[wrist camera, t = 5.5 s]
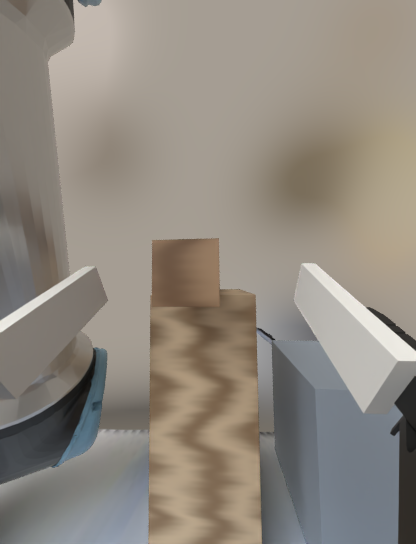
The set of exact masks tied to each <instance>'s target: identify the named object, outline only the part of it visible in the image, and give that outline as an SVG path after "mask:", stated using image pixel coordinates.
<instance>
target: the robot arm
mask: <svg viewBox="0 0 416 544" xmlns="http://www.w3.org/2000/svg"><path fill="white" fill-rule="evenodd" d="M78 2H79V3H81V4H82V5H83V6H85V7H87V6H88V5H93V6H97V5H99V4H100V3H101V0H78ZM74 32H75V28H74V10H73V0H0V485H1V484H4V483H6V482H9V481H12V480H15V479H18V478H20V477H23V476H26V475H29V474H32V473H34V472H37V471H40V470H43V469H46V468H48V467H52V468H54V467H57V466H59V465H61V464H62V463H63V462H64V461H66V460H69V459H71V458H74V457H76V456H79V455H81V454H83V453H84V452H86V451H87V450H88V449H89V448H90V447H91V446H92V445H93V443H94V441H95V439H96V437H97V433H98V429H99V423H100V417H101V409H102V400H103V394H104V388H105V378H106V368H107V351H106V350H105V349H99V348H93V347H92V342H91V340H90V339H89V337H88V336H87V335H85V334H84V333H83V332H81V331H80V330H81V329H82V328H83V327H84V326H85V325H86V324H87V323H88V322H89V321H90V320H91V318H92V317H93V316H94V315H95V314H96V313H97V312H98V311H99V310H100V309H101V308H102V307H103V306H104V304H105V303H106V302H107V301H108V299H107V296H106V294H105V291H104V288H103V285H102V282H101V279H100V277H99V274H98V271H97V268H96V267H95V266H89V267H83V268H82V269H80V270H79V271H77V272H75V273H74V274H73V275H71V276H70V273H69V262H68V253H67V244H66V234H65V224H64V214H63V205H62V195H61V186H60V176H59V166H58V157H57V147H56V137H55V128H54V118H53V109H52V99H51V90H50V79H49V70H48V61H49V59H50V57H51V56H53V55H54V54H56V53H58V52H60V51H61V50H63V49H64V48H66V47H68V46H70V45H71V44H72V43H73V40H74ZM294 302H295V304H296V305H297V307H298V308H299V310H300V312H301V313H302V315H303V316H304V318H305V320H306V321H307V323H308V325H309V326H310V328H311V329H312V331H313V333H314V334H315V336H316V337H317V339H318V341H319V342H320V344H321V346H322V347H323V349H324V350H325V352H326V354H327V355H328V357H329V359H330V360H331V362H332V363H333V365H334V367H335V368H336V370H337V371H338V373H339V375H340V376H341V378H342V380H343V381H344V383H345V384H346V386H347V388H348V389H349V391H350V392H351V394H352V396H353V397H354V399H355V401H356V402H357V404H358V405H359V407H360V409H361V410H362V412H363V413H365V414H388V412H389V411H390V410H391V408H392V407H393V406H394V404H395V405H396V407H397V408H398V409H399V410H400V412H401V413H402V414H403V416H402V417H401V418H400V420H399V421H398V422H397V423H396V424H395V426H394V427H393V428H392V430H391V432H390V434H391V435H393V436H395V435H396V434H397V433H398V432H399V513H398V544H416V341H415V340H414V339H413V338H412V337H411V336H409V335H408V334H405V332H404V331H403V330H402V329H401V328H400V327H398V326H396V325H395V323H393V322H392V321H391V320H390V319H388V318H387V317H386V316H385V315H383V314H381V313H379V312H378V311H376V310H374V309H372V308H370V307H367V308H366V307H364V306H363V305H362V304H361V303H360V302H359V301H357V300H356V299H355V298H354V297H353V296H352V295H351V294H349V293H348V292H347V291H346V290H345V289H344V288H342V287H341V286H340V285H339V284H338V283H337V282H335V281H334V280H333V279H332V278H331V277H330V276H328V275H327V274H326V273H325V272H324V271H323V270H322V269H321V268H319V267H318V266H317V265H316V264H315V263H302V264H301V268H300V272H299V277H298V282H297V286H296V291H295V296H294Z"/></svg>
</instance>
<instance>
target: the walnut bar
mask: <svg viewBox="0 0 416 544" xmlns="http://www.w3.org/2000/svg"><path fill="white" fill-rule="evenodd" d="M219 283H220V282H219V239H218V238H216V239H178V240H152V307H220V284H219Z"/></svg>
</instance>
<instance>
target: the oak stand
mask: <svg viewBox="0 0 416 544" xmlns="http://www.w3.org/2000/svg"><path fill="white" fill-rule="evenodd" d="M255 298H256V296H255V294H252V293H249V292H246V291H243V290H240V289H222V290H221V289H220V307H152V295H151V305H150V310H151V311H150V423H149V425H150V427H149V538H148V544H262V526H261V488H260V450H259V412H258V378H257V377H258V373H257V335H256V299H255Z"/></svg>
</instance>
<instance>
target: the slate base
mask: <svg viewBox="0 0 416 544" xmlns="http://www.w3.org/2000/svg"><path fill="white" fill-rule="evenodd" d="M272 367H273V400H274V432H275V450H276V453H277V456H278V459H279V462H280V465H281V468H282V471H283V474H284V477H285V480H286V483H287V486H288V489H289V492H290V495H291V498H292V501H293V504H294V507H295V510H296V513H297V516H298V519H299V522H300V525H301V528H302V531H303V534H304V537H305V540H306V543H307V544H398V513H399V432H398V433H397V434H396V435H395V436H393V435H391V434H390V432H391V430H392V428H393V427H394V426H395V424H396V423H397V422H398V421H399V420H400V418H401V417H402V416H403V414H402V413H401V412H400V410H399V409H398V408H397V407H396V405H395V404H394V406H393V407H392V408H391V410H390V411H389V412H388V414H365V413H363V412H362V410H361V409H360V407H359V405H358V404H357V402H356V401H355V399H354V397H353V396H352V394H351V392H350V391H349V389H348V388H347V386H346V384H345V383H344V381H343V380H342V378H341V376H340V375H339V373H338V371H337V370H336V368H335V367H334V365H333V363H332V362H331V360H330V359H329V357H328V355H327V354H326V352H325V350H324V349H323V347H322V346H321V344H320V342H319V341H273V340H272Z"/></svg>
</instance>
